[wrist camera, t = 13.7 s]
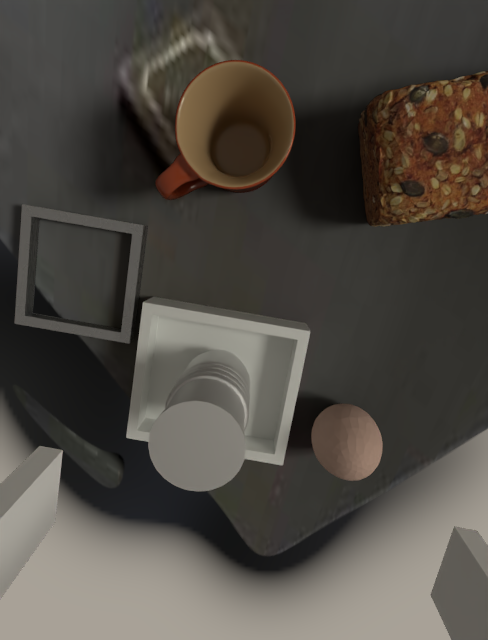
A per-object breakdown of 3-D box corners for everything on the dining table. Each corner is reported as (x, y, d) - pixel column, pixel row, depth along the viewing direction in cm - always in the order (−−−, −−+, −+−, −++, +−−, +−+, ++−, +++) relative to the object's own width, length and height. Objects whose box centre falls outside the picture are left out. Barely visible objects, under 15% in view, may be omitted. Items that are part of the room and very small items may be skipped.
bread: (555, 84, 38) (658, 30, 28) (555, 204, 40) (651, 192, 30) (350, 117, 39) (380, 75, 29) (360, 231, 41) (391, 228, 31)
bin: (153, 296, 43) (142, 302, 39) (305, 323, 43) (310, 331, 39) (137, 420, 45) (126, 437, 42) (280, 446, 45) (282, 465, 41)
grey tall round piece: (193, 337, 42) (158, 388, 28) (258, 354, 42) (258, 414, 28) (178, 397, 44) (136, 477, 29) (241, 414, 44) (232, 502, 29)
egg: (380, 427, 44) (411, 474, 36) (330, 460, 45) (347, 514, 36) (345, 380, 44) (367, 416, 35) (294, 414, 45) (303, 458, 36)
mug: (253, 86, 39) (250, 32, 29) (304, 167, 40) (319, 142, 30) (151, 163, 40) (115, 137, 30) (203, 238, 41) (185, 238, 31)
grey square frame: (30, 205, 42) (22, 204, 40) (147, 225, 41) (143, 225, 40) (22, 320, 44) (14, 323, 42) (133, 340, 44) (129, 343, 42)
